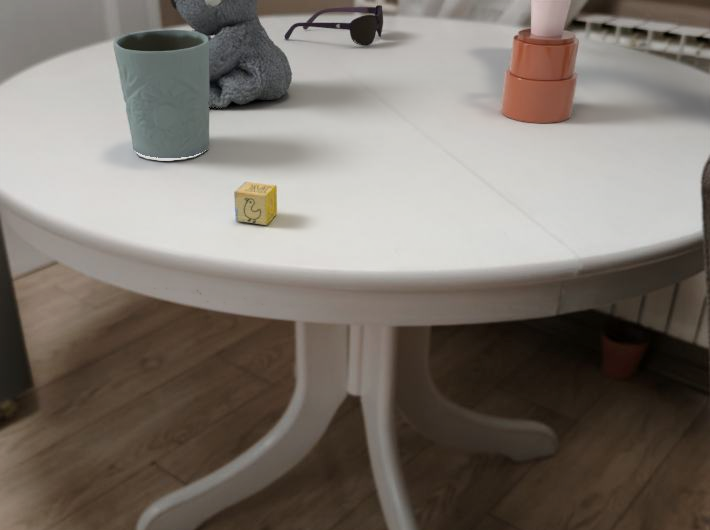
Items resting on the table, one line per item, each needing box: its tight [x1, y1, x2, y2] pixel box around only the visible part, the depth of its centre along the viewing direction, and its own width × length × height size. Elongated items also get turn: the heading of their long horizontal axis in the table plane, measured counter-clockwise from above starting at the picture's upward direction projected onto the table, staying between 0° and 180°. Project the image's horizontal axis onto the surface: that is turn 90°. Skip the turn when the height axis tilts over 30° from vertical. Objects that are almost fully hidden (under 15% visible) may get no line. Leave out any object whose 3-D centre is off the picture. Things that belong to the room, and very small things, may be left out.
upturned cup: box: [500, 27, 580, 124], centre depth 100 cm, size 9×9×10 cm
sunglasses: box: [284, 4, 384, 47], centre depth 138 cm, size 14×16×5 cm
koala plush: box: [169, 0, 293, 109], centre depth 105 cm, size 17×18×20 cm
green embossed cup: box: [112, 28, 210, 158], centre depth 88 cm, size 10×10×12 cm
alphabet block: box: [233, 181, 278, 226], centre depth 74 cm, size 3×3×3 cm
